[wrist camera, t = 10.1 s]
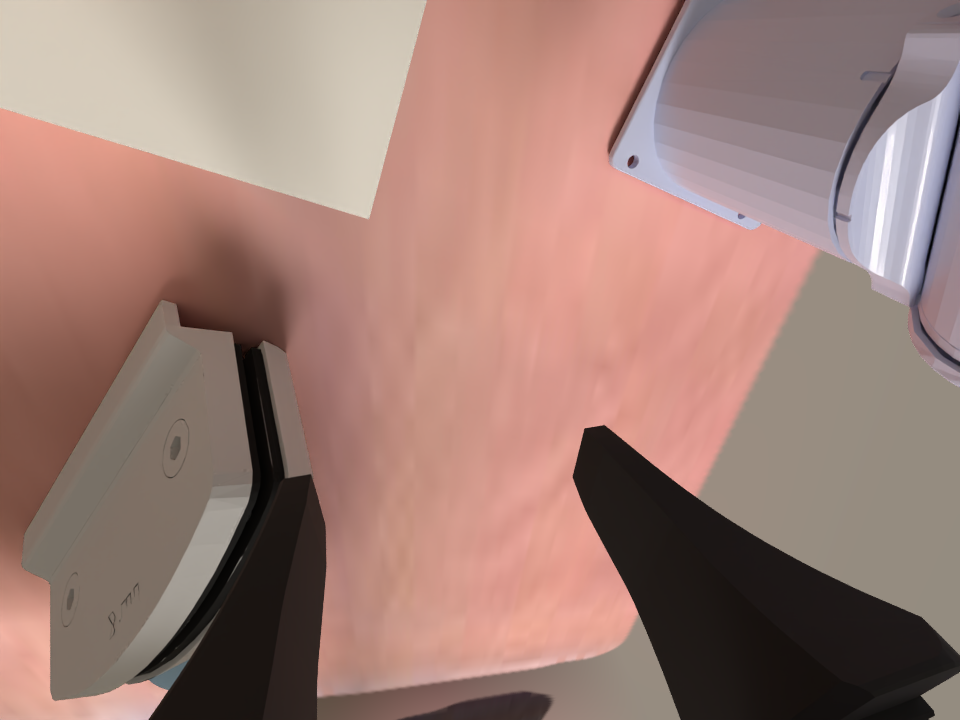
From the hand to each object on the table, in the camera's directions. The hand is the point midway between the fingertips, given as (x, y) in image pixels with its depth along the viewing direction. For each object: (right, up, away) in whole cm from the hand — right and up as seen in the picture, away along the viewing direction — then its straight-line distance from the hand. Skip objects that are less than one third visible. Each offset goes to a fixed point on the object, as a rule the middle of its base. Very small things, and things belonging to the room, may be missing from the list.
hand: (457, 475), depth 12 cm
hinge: (-14, -2, +10) cm, 18 cm away
